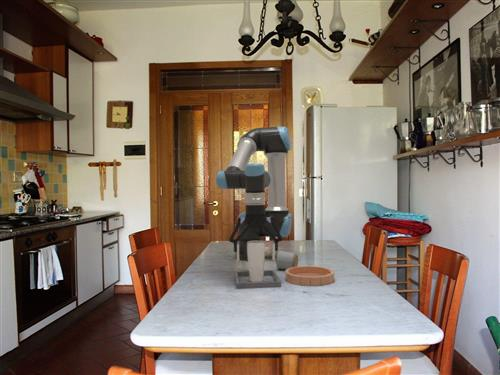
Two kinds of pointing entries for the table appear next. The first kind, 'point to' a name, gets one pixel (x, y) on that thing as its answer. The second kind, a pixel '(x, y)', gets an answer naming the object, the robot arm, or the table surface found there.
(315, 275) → the bowl
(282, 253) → the ceramic mug
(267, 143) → the robot arm
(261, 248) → the drinking glass
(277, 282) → the tray
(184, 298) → the table surface
